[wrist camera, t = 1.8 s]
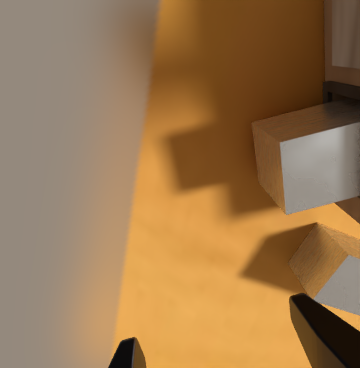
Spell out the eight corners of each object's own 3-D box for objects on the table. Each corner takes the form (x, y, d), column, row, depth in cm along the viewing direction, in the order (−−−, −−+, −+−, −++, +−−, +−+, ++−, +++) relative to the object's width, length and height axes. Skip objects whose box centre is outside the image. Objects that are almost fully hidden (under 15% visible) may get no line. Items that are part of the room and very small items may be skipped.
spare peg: (383, 248, 25) (424, 283, 21) (352, 284, 26) (386, 324, 22) (315, 221, 23) (348, 254, 19) (286, 261, 24) (312, 300, 20)
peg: (368, 92, 18) (426, 104, 14) (365, 155, 19) (416, 181, 16) (251, 122, 18) (279, 142, 14) (258, 183, 19) (285, 215, 16)
